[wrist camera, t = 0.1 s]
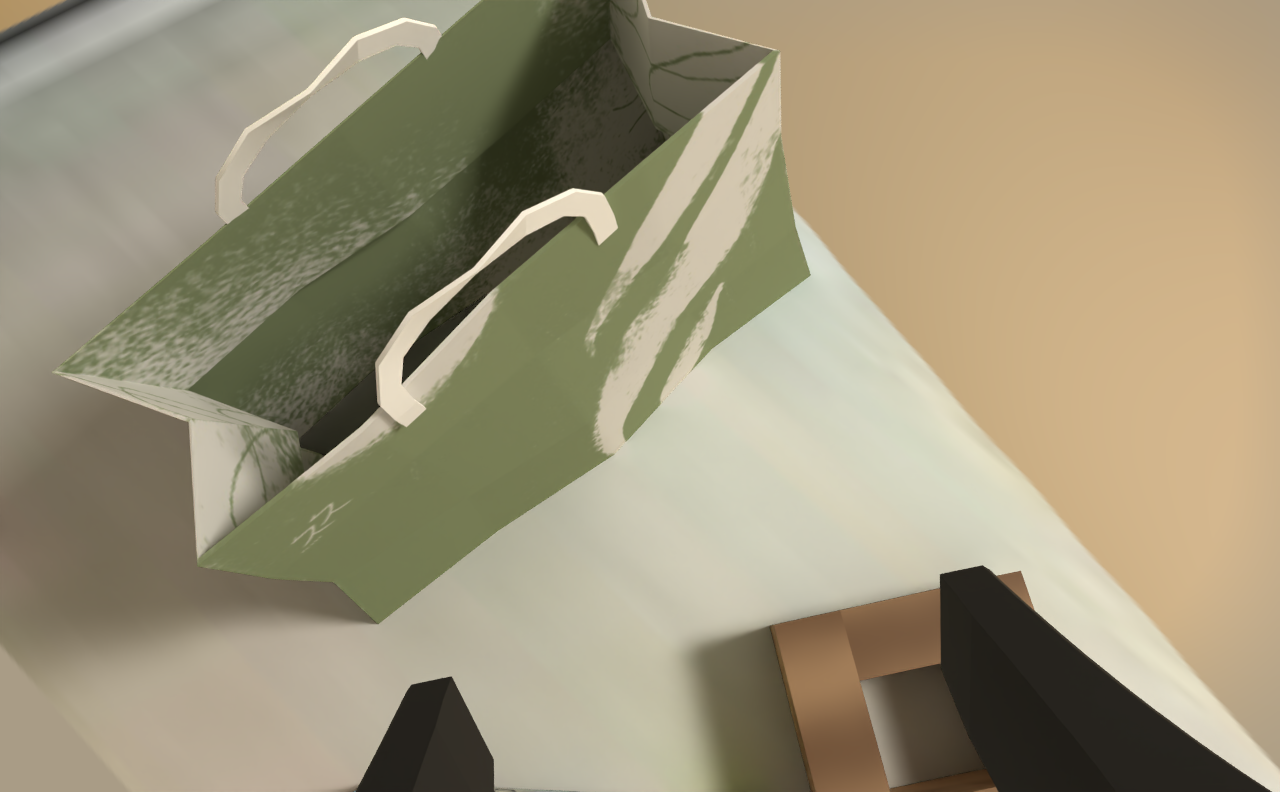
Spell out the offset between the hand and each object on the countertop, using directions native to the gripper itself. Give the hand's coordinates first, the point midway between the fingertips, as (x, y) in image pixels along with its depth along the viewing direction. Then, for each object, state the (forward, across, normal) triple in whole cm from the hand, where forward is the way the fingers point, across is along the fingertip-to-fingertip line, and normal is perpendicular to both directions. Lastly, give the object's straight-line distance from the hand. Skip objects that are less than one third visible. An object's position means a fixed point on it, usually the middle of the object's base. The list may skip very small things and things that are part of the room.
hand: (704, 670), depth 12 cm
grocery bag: (+34, +7, +13) cm, 37 cm away
